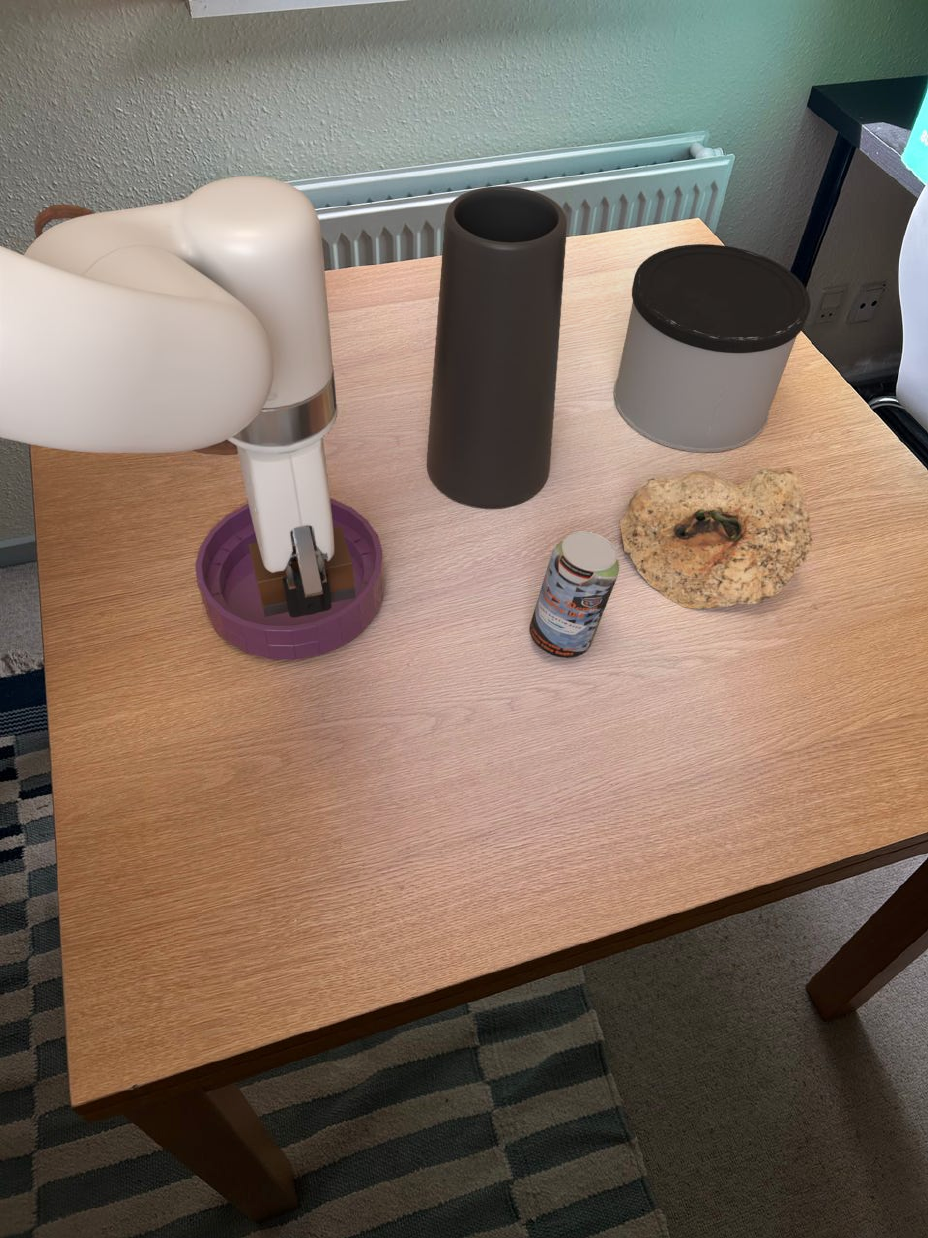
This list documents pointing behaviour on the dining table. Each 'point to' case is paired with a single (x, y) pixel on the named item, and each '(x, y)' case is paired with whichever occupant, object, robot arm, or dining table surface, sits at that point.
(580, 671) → the dining table surface
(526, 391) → the vase
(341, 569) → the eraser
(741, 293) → the container
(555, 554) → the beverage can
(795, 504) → the beige rock
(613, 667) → the dining table surface
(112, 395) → the robot arm
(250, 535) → the bowl
